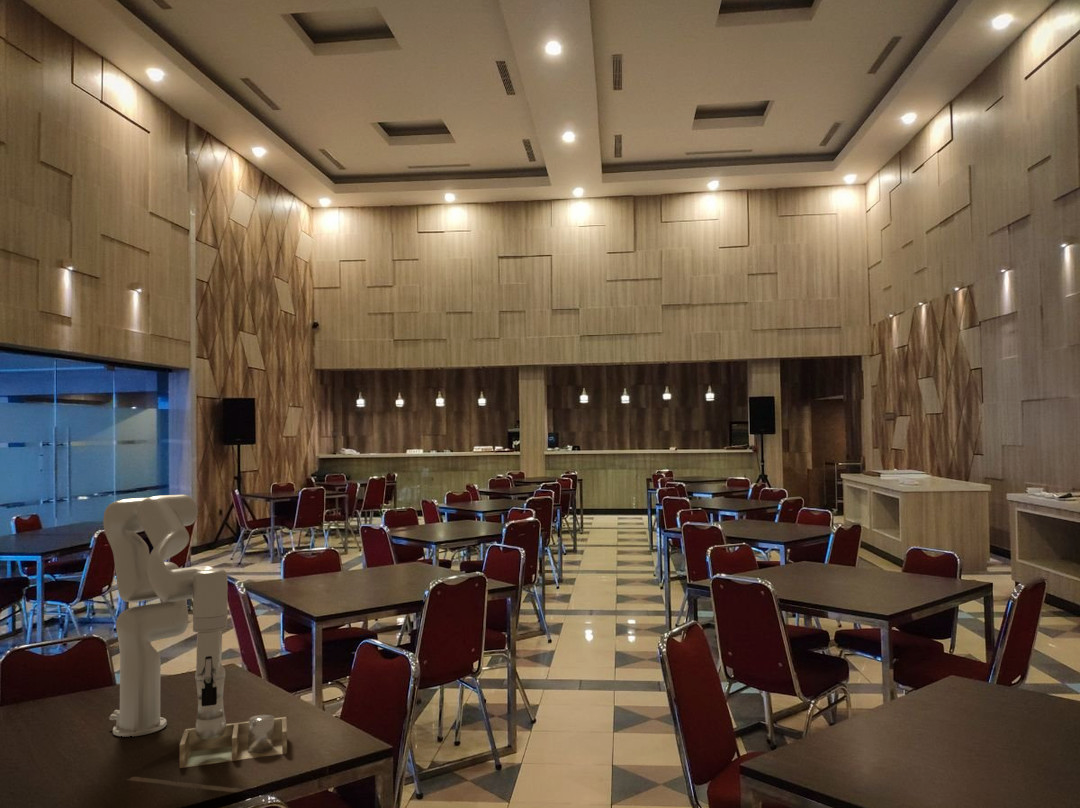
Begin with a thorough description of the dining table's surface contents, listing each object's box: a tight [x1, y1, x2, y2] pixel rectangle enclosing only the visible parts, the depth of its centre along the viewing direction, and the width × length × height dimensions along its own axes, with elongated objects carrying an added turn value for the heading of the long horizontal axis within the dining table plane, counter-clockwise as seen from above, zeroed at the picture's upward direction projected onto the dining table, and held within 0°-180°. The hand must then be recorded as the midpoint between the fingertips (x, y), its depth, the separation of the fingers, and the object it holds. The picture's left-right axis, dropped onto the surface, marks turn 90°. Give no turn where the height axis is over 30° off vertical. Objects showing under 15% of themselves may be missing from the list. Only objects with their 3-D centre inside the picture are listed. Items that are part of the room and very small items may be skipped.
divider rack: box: [179, 716, 288, 769], centre depth 187 cm, size 23×11×6 cm, turn 109°
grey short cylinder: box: [248, 714, 275, 753], centre depth 188 cm, size 6×6×7 cm
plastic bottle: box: [194, 663, 227, 739], centre depth 185 cm, size 6×7×20 cm
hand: (210, 700), depth 185 cm, fingers closed on plastic bottle, 6 cm apart
